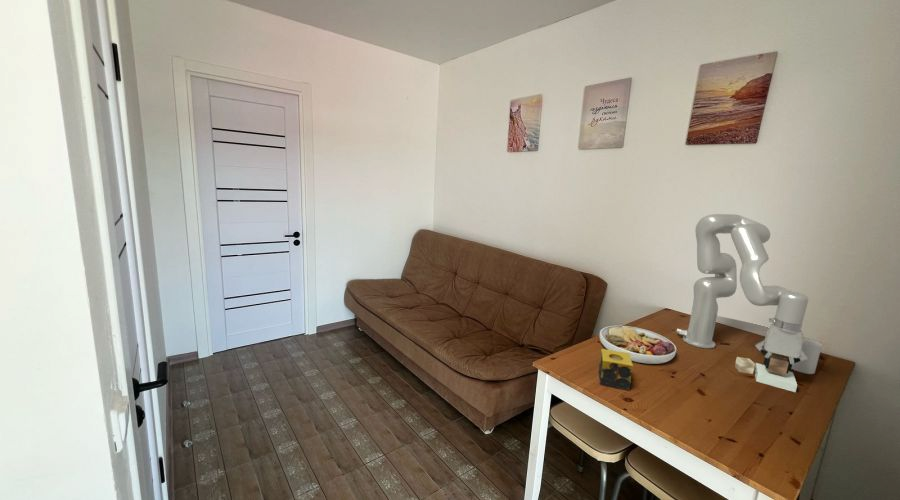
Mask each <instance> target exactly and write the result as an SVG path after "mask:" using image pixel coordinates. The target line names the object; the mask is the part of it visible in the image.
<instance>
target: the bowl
mask: <svg viewBox="0 0 900 500" xmlns="http://www.w3.org/2000/svg"><path fill="white" fill-rule="evenodd" d="M599 341H600V342H601V344H602V345H603V347H605V348H604V349H606V350H612V351H618V352H625V353H630V357H631V362H635V363H640V364H641V363H642V364H648V365H649V364H650V365H656V364H658V365H659V364H660V365H661V364H664V363H667V362H669V361H671V360H672V359H673V358H675V356H676V354H677V346H676V345H675V344H674V343H673V341H671V340H670V339H669V338H667V337H665V336H663V335H661V334H659V333H657V332H654V331H651V330H648V329H644V328H641V327H635V326H629V325H628V326H627V325H610V326H605V327H603V328H602V329H600V331H599Z"/></svg>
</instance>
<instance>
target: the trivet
mask: <svg viewBox="0 0 900 500" xmlns="http://www.w3.org/2000/svg"><path fill="white" fill-rule="evenodd" d="M753 372H754V375H755V381H756V382H758V383H760V384H765V385H768V386H772V387H774V388H779V389H783V390H786V391H790V392H793V393H796V392H797V388H798V384H797V383H798V382H797V381H796V378H795V375H794V372H793V371H788V374H787V373H786V376H785V375H781V374H777V373H773V372H770V371H768V369H767V368H766V367H765V365H764V364H763V363H758V362H755V367H754V371H753Z"/></svg>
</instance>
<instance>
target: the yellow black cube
mask: <svg viewBox="0 0 900 500" xmlns="http://www.w3.org/2000/svg"><path fill="white" fill-rule="evenodd" d="M633 368H634V364H633V361H631V357H630V353H625V352H618V351H612V350H608V349H606V348H601V350H600V359H599V365H598V380H600V381H599V385H600V384H601V385H600V386H603V385H604V387H608V388H609V387H610V388H613V387H614V389H620V390H624V391H630V389H631V383H632V381H631V380H632V374H633Z"/></svg>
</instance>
